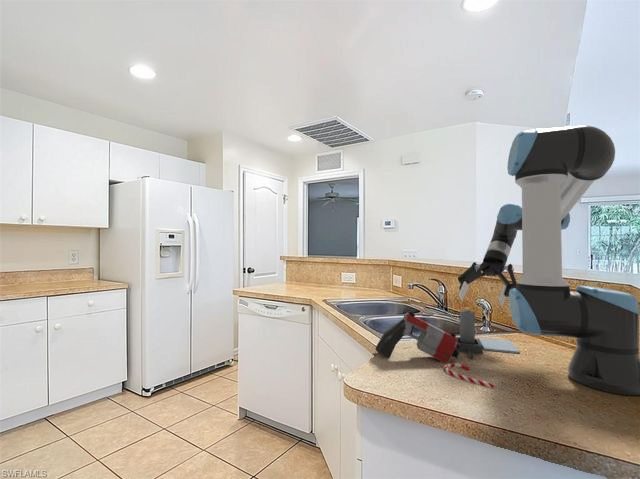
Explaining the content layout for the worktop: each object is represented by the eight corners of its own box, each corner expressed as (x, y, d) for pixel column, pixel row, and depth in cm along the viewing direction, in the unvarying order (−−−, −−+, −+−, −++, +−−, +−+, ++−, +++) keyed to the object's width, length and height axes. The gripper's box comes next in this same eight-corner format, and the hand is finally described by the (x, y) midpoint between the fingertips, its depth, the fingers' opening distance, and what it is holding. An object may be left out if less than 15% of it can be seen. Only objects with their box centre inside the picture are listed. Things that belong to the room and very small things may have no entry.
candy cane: (485, 387, 77) (436, 365, 90) (485, 393, 77) (436, 370, 90) (506, 381, 80) (456, 361, 94) (506, 386, 80) (456, 365, 94)
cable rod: (475, 351, 104) (475, 309, 105) (460, 349, 106) (460, 308, 106) (473, 347, 109) (473, 307, 109) (459, 345, 110) (459, 306, 110)
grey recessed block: (486, 360, 96) (485, 352, 96) (456, 357, 99) (456, 349, 99) (479, 346, 110) (479, 338, 110) (453, 343, 112) (453, 336, 112)
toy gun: (443, 388, 95) (467, 342, 93) (375, 351, 99) (397, 306, 97) (440, 380, 100) (463, 337, 99) (375, 345, 104) (397, 303, 103)
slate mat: (519, 353, 103) (519, 351, 103) (484, 350, 106) (484, 348, 106) (510, 342, 114) (510, 340, 114) (478, 339, 117) (478, 337, 117)
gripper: (536, 264, 117) (522, 312, 107) (466, 261, 135) (449, 301, 125) (532, 249, 113) (516, 298, 103) (460, 248, 132) (442, 289, 122)
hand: (479, 300), depth 114 cm, fingers open, 13 cm apart
